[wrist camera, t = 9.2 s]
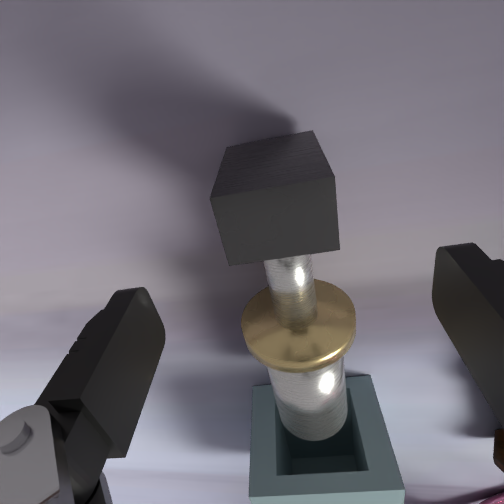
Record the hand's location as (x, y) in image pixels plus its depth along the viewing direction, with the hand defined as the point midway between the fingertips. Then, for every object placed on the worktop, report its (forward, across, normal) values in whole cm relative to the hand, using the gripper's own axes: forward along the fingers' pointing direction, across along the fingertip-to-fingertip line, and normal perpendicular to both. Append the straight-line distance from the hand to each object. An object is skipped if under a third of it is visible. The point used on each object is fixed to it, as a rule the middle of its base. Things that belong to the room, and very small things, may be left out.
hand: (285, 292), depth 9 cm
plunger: (+10, 0, +7) cm, 12 cm away
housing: (+11, 0, +25) cm, 27 cm away
